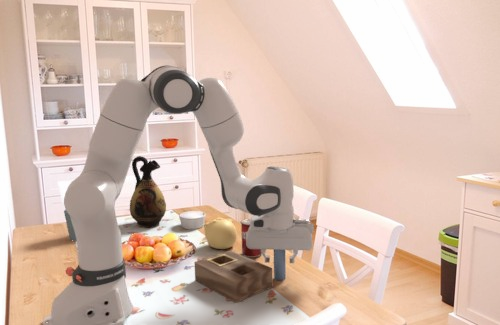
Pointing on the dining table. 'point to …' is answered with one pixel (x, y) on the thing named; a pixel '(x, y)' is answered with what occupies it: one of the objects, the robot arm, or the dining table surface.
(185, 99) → the robot arm
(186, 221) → the ramekin
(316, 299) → the dining table surface
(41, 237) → the dining table surface
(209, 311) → the dining table surface
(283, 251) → the peg
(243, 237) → the soda can
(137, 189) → the ceramic jug
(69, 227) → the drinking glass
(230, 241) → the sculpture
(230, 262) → the socket block
